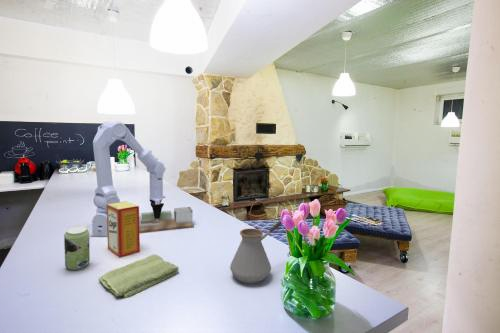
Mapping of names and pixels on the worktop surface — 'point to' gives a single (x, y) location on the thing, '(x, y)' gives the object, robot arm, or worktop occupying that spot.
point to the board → (166, 226)
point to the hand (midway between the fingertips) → (156, 216)
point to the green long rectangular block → (150, 216)
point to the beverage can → (76, 247)
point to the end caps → (180, 217)
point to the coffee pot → (251, 257)
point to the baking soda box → (123, 228)
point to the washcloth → (138, 276)
